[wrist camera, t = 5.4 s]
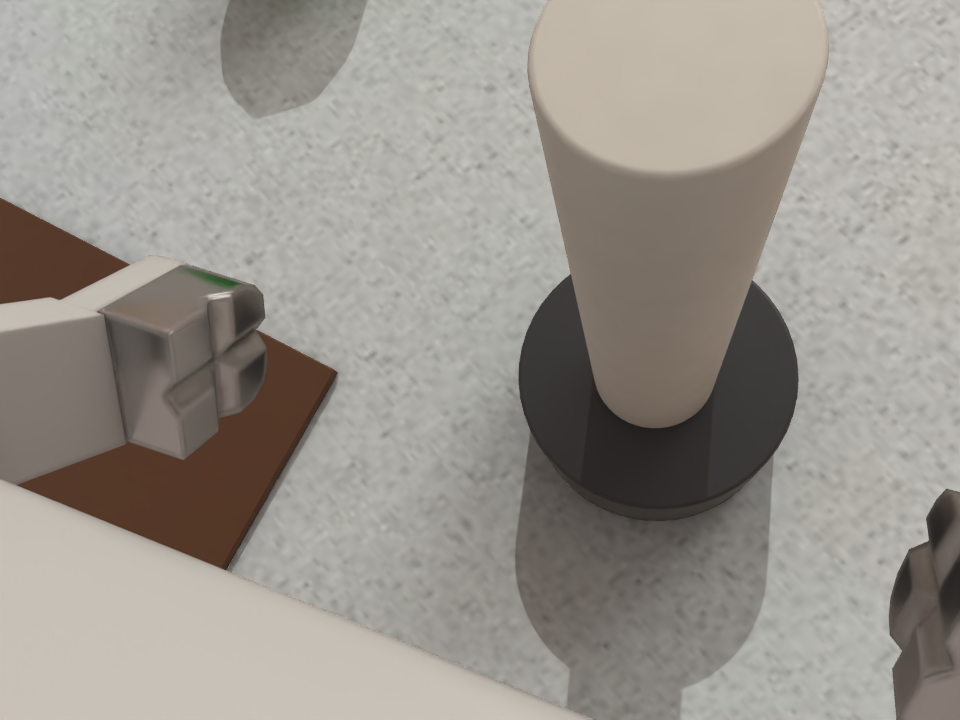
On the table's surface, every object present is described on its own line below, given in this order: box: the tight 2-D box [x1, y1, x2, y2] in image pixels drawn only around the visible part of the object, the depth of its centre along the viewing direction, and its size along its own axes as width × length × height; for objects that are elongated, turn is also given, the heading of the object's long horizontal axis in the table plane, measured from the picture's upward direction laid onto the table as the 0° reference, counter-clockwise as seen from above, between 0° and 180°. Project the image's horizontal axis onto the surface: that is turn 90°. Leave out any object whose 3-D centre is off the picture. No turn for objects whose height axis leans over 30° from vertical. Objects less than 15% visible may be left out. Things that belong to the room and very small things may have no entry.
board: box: [0, 198, 338, 570], centre depth 23 cm, size 14×14×1 cm
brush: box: [519, 0, 829, 521], centre depth 14 cm, size 6×6×14 cm
